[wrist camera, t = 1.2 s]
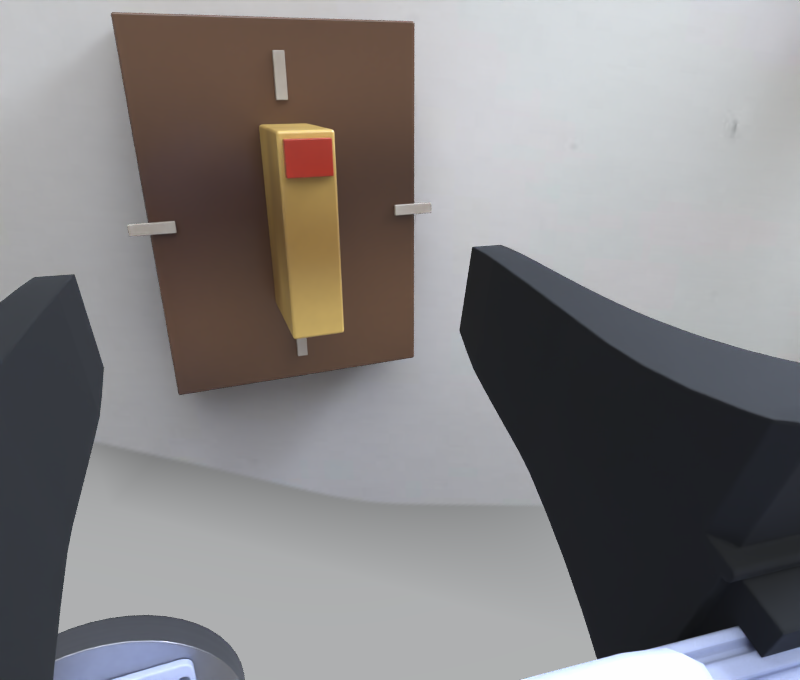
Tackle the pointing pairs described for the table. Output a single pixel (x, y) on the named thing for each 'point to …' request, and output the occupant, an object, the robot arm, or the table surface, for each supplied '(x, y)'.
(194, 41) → the lock plate
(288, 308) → the handle
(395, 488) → the table surface
